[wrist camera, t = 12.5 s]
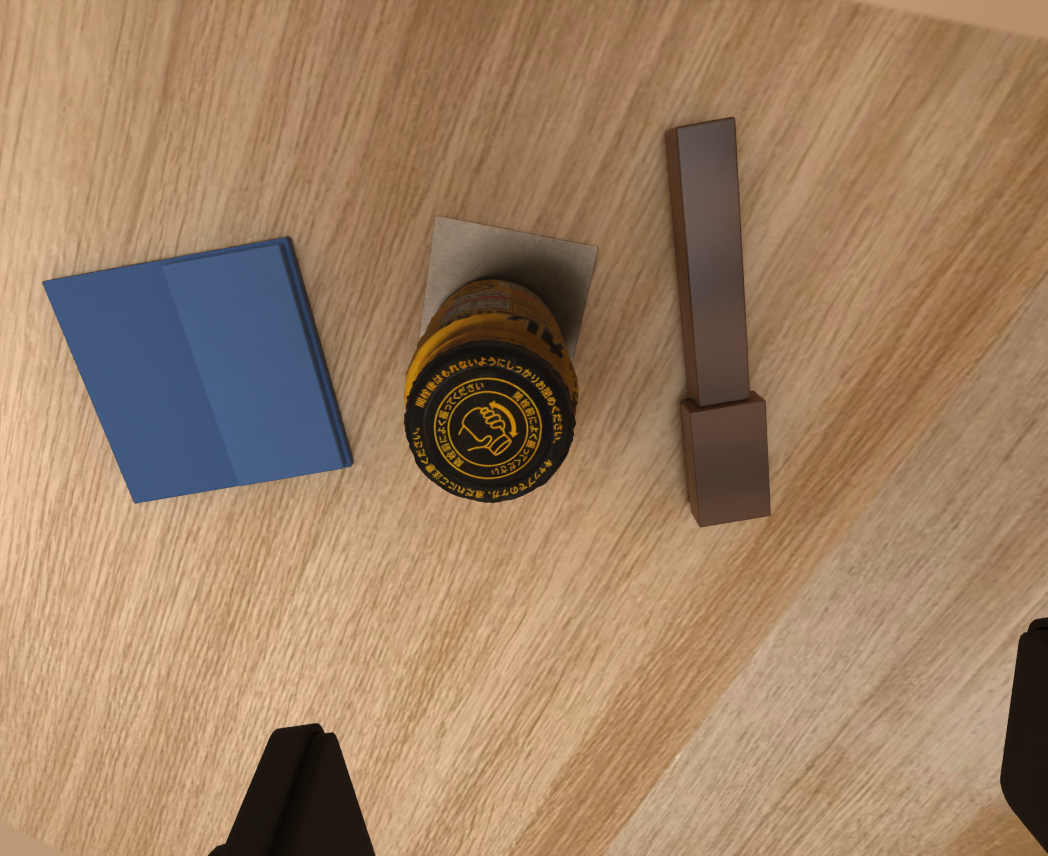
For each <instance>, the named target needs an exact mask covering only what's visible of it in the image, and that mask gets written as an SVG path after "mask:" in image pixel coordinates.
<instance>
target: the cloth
mask: <svg viewBox="0 0 1048 856" xmlns="http://www.w3.org/2000/svg"><path fill="white" fill-rule="evenodd" d="M42 284H43V286H44V288H45V291H46V293H47V296H48V298H49V300H50V303H51V305H52V308H53V310H54V312H55V315H56V317H57V319H58V322H59V324H60V327H61V329H62V331H63V334H64V336H65V339H66V341H67V343H68V346H69V348H70V351H71V353H72V355H73V358H74V360H75V363H76V365H77V367H78V370H79V372H80V375H81V377H82V379H83V382H84V384H85V386H86V389H87V391H88V394H89V396H90V398H91V401H92V403H93V406H94V408H95V410H96V413H97V415H98V418H99V420H100V422H101V425H102V427H103V430H104V432H105V434H106V437H107V439H108V442H109V444H110V446H111V449H112V451H113V453H114V456H115V458H116V461H117V463H118V465H119V468H120V470H121V473H122V475H123V477H124V480H125V482H126V485H127V487H128V489H129V492H130V494H131V497H132V499H133V501H134V503H141V502H147V501H153V500H159V499H164V498H170V497H176V496H182V495H188V494H194V493H200V492H205V491H211V490H217V489H223V488H229V487H235V486H244V485H249V484H255V483H261V482H267V481H273V480H279V479H285V478H290V477H296V476H302V475H308V474H314V473H320V472H326V471H331V470H337V469H343V468H346V467H351V466H352V464H353V458H352V455H351V451H350V448H349V444H348V441H347V437H346V433H345V430H344V426H343V423H342V419H341V416H340V412H339V409H338V405H337V402H336V398H335V395H334V391H333V387H332V384H331V380H330V377H329V373H328V370H327V366H326V363H325V359H324V356H323V352H322V349H321V345H320V341H319V338H318V334H317V331H316V327H315V324H314V320H313V317H312V313H311V310H310V306H309V303H308V299H307V295H306V292H305V288H304V285H303V281H302V278H301V274H300V271H299V267H298V264H297V260H296V257H295V253H294V249H293V246H292V242H291V239H290V237H284V238H279V239H273V240H268V241H262V242H257V243H251V244H246V245H240V246H235V247H229V248H224V249H218V250H213V251H207V252H202V253H196V254H191V255H185V256H180V257H174V258H169V259H163V260H157V261H152V262H146V263H141V264H135V265H130V266H124V267H119V268H113V269H108V270H102V271H97V272H91V273H86V274H80V275H75V276H69V277H64V278H58V279H53V280H47V281H43V282H42Z"/></svg>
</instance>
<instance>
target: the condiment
mask: <svg viewBox="0 0 1048 856" xmlns="http://www.w3.org/2000/svg"><path fill="white" fill-rule="evenodd" d="M597 249H598V247H595V246H590V245H585V244H579V243H575V242H570V241H565V240H560V239H554V238H548V237H544V236H540V235H534V234H528V233H523V232H518V231H513V230H508V229H503V228H497V227H492V226H486V225H481V224H476V223H471V222H466V221H460V220H455V219H450V218H445V217H439V216H435V223H434V230H433V237H432V245H431V253H430V260H429V268H428V276H427V282H426V290H425V298H424V306H423V314H422V321H421V329H420V336H419V342H418V344H417V350H416V351H415V353H414V355H413V358H412V360H411V363H410V365H409V367H408V370H407V372H406V382H405V390H404V391H405V393H404V399H405V406H406V413H405V414H404V418H405V419H404V425H405V432H406V437H407V440H408V442H409V444H410V445H409V447H410V449H411V451H412V453H413V455H414V458H415V462H416V464H417V465H418V467H419V468H420V469H421V471H422V472H423V473H424V474H425V475H426V476H427V477H428V478H429V479H430V480H431V481H433V482H434V483H436V484H437V485H438V486H439V487H441V488H442V489H444V490H446V491H447V492H449V493H451V494H453V495H456V496H459V497H462V498H467V499H470V500H475V501H479V502H485V503H487V502H490V503H495V502H501V501H505V500H512V499H516V498H518V497H521V496H523V495H525V494H527V493H529V492H531V491H533V490H534V489H536V488H538V487H540V486H542V485H544V484H546V482H547V481H548V480H549V479H550V478H551V477H552V475H554V473H555V472H556V471H557V469H558V468H559V467H560V466H561V464H562V462H563V461H564V459H565V458H566V457H567V455H568V452H569V448H570V446H571V443H572V441H573V436H574V431H573V429H574V427H575V425H576V421H575V415H576V407H577V404H578V382H577V377H576V374H575V370H574V367H573V364H572V362H573V358H574V353H575V348H576V344H577V340H578V335H579V331H580V327H581V323H582V317H583V312H584V308H585V304H586V298H587V294H588V290H589V285H590V281H591V276H592V272H593V268H594V263H595V258H596V254H597Z"/></svg>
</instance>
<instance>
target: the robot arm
mask: <svg viewBox="0 0 1048 856" xmlns="http://www.w3.org/2000/svg"><path fill="white" fill-rule="evenodd" d="M1000 783H1001V788H1002V791H1003V794H1004V797H1005V799H1006V801H1007V802H1008V804H1009V806H1010V807H1011V809H1012V810H1013V812H1014V813H1015V814H1016V815H1017V816H1018V818H1019V819H1020V820H1021V821H1022V823H1023V824H1024V825H1025V826H1026V828H1027V829H1028V830H1029V831H1030V832H1031V834H1032V835H1033V836H1034V837H1035V839H1036V840H1037V841H1038V842H1039V843H1040V845H1041V846H1042V847H1043V848H1044V850H1045V851H1046V852H1047V853H1048V617H1047V618H1040V619H1036V620H1034V621H1033V622H1032V623H1031V624H1030V625H1029V628H1028V632H1025V633H1023V634H1022V635H1021V636H1020V639H1019V644H1018V652H1017V659H1016V666H1015V674H1014V681H1013V688H1012V695H1011V703H1010V710H1009V717H1008V725H1007V732H1006V739H1005V746H1004V754H1003V761H1002V768H1001V776H1000ZM208 856H375V853H374V849H373V846H372V843H371V840H370V837H369V834H368V831H367V828H366V825H365V822H364V819H363V816H362V813H361V810H360V807H359V804H358V800H357V797H356V794H355V791H354V788H353V785H352V782H351V779H350V776H349V773H348V770H347V767H346V764H345V761H344V758H343V754H342V751H341V748H340V745H339V742H338V739H337V737H336V735H335V734H334V733H333V732H331V733H324V730H323V728H322V726H321V725H320V724H319V723H314V724H307V725H300V726H293V727H286V728H279V729H276V730H275V731H274V732H273V733H272V735H271V736H270V738H269V740H268V743H267V745H266V748H265V750H264V752H263V755H262V757H261V760H260V762H259V764H258V767H257V769H256V772H255V774H254V776H253V779H252V781H251V784H250V786H249V788H248V791H247V793H246V796H245V798H244V800H243V803H242V805H241V808H240V810H239V812H238V815H237V817H236V820H235V822H234V824H233V827H232V829H231V832H230V834H229V837H228V839H227V841H226V844H222V845H219V846H216V848H215V849H214V850H213V851H212V852H211V853H210V854H209V855H208Z"/></svg>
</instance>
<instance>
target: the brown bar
mask: <svg viewBox="0 0 1048 856" xmlns="http://www.w3.org/2000/svg"><path fill="white" fill-rule="evenodd" d="M665 139H666V150H667V161H668V173H669V184H670V196H671V207H672V218H673V230H674V241H675V252H676V264H677V275H678V287H679V298H680V309H681V321H682V332H683V343H684V355H685V366H686V377H687V389H688V395H689V396H690V397H691V399H689V400H684V401H680V405H681V415H682V426H683V437H684V448H685V459H686V469H687V480H688V491H689V501H690V506H691V513H692V515H693V516H694V518H695V520H696V522H697V523H698V525H699V527H706V526H712V525H718V524H724V523H730V522H736V521H742V520H748V519H754V518H760V517H766V516H770V515H771V509H770V487H769V465H768V443H767V421H766V401H765V400H764V399H763V398H762V397H761V396H759V395H758V394H757V393H756V392H754V391H750V386H749V367H748V349H747V330H746V312H745V293H744V275H743V256H742V237H741V219H740V200H739V182H738V163H737V145H736V126H735V117H728V118H723V119H717V120H712V121H706V122H701V123H695V124H690V125H684V126H679V127H675V128H672V129H669V130H667V131H665Z"/></svg>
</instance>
